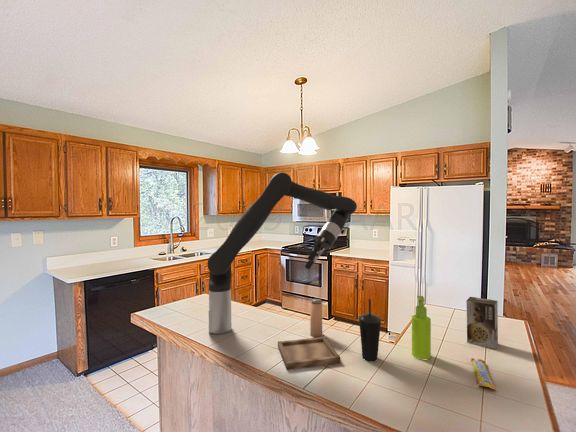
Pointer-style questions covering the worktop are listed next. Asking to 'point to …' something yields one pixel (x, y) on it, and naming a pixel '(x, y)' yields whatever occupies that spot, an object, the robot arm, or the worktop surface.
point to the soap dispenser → (421, 332)
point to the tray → (307, 353)
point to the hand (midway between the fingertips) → (308, 264)
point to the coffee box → (482, 322)
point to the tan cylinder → (316, 318)
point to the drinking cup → (369, 334)
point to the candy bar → (482, 373)
